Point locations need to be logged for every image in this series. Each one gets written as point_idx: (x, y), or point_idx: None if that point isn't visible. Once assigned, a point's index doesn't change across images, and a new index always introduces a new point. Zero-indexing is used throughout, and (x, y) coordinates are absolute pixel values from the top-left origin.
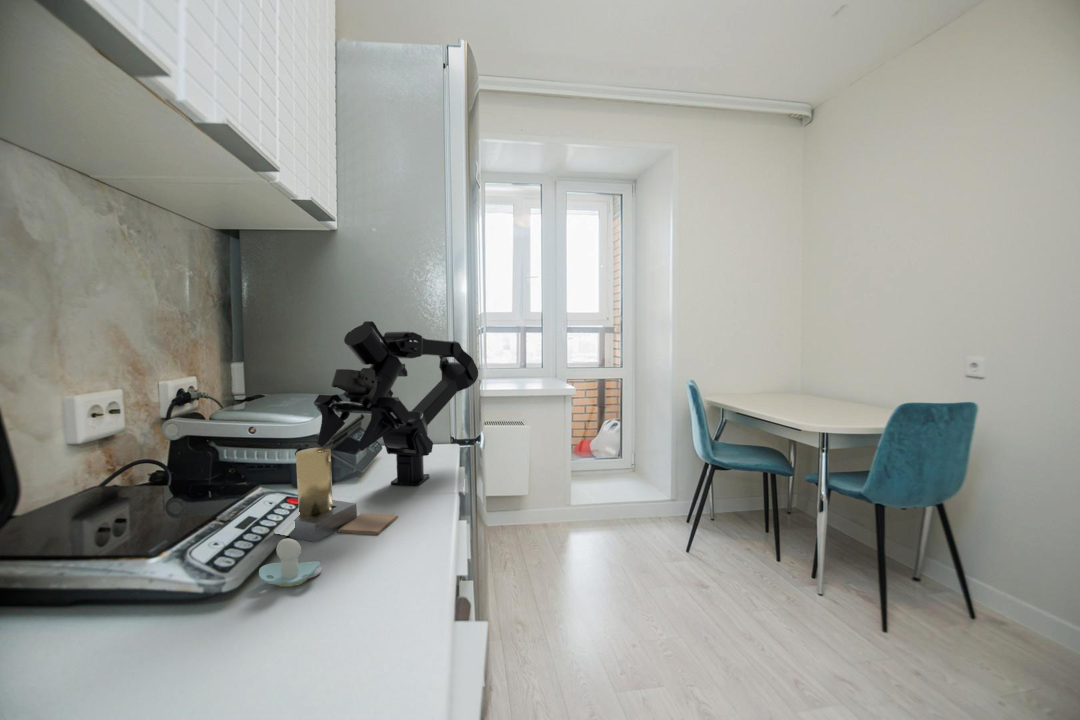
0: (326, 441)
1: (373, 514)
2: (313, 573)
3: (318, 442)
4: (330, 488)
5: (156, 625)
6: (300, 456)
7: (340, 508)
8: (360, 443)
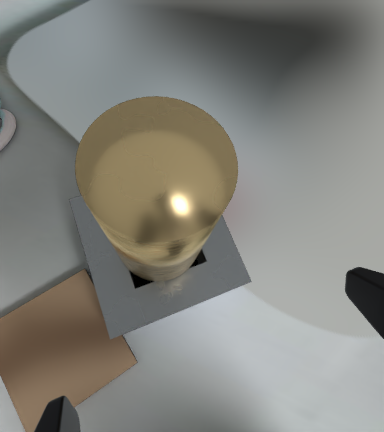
0: (379, 326)
1: (96, 382)
2: None
3: (359, 270)
4: (119, 255)
5: (21, 4)
6: (134, 103)
7: (112, 287)
8: (44, 426)
